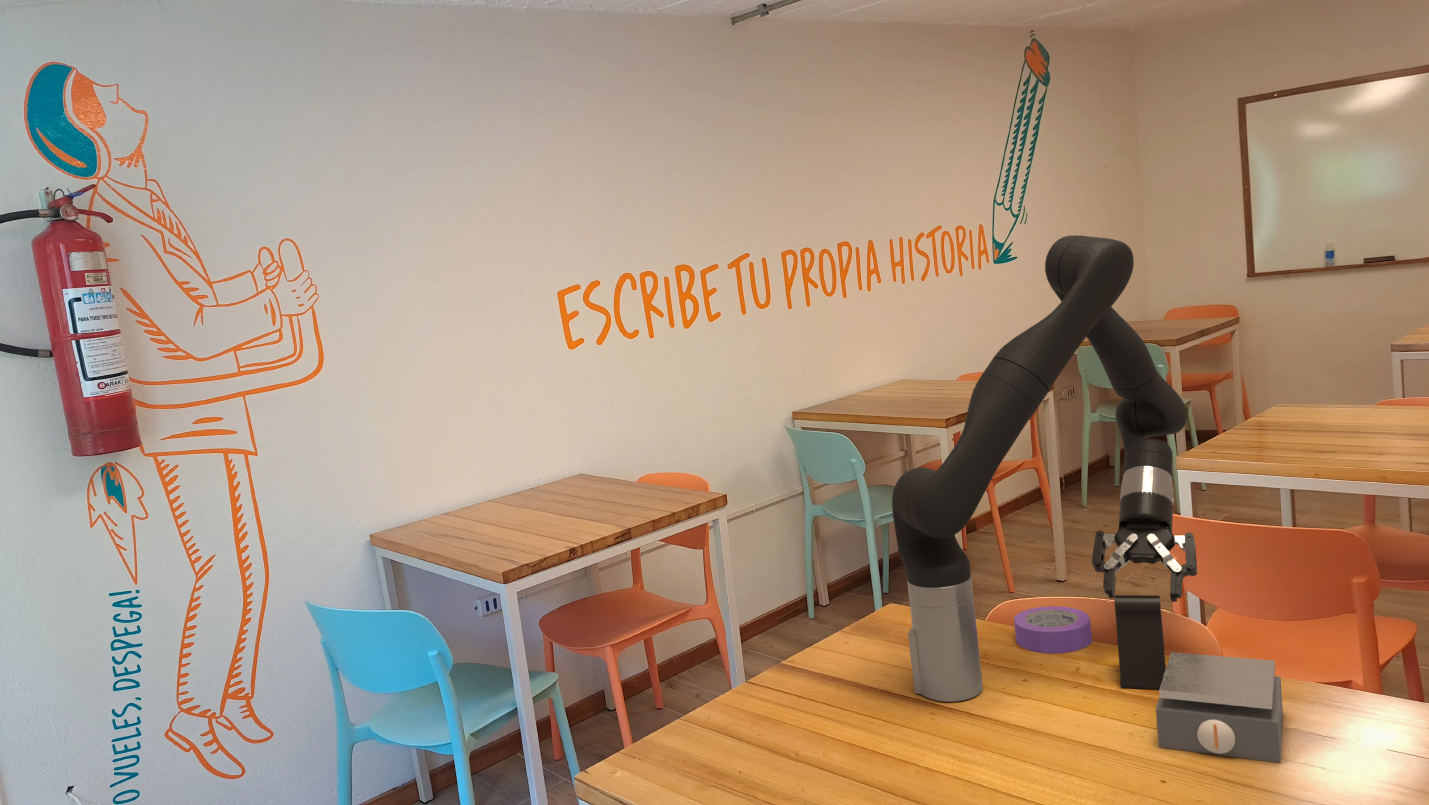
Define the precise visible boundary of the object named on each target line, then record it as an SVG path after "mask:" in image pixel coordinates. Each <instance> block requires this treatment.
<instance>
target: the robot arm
mask: <svg viewBox="0 0 1429 805" xmlns="http://www.w3.org/2000/svg"><path fill="white" fill-rule="evenodd" d="M1134 258H1135V257H1134V253H1133V251H1132V249H1131V247H1130V246H1129V245H1128V244H1127V243H1125V242H1123V241H1120V240H1118V239H1113V238H1107V237H1106V238H1105V237H1099V236H1098V237H1097V236H1087V235H1077V234H1075V235H1074V234H1073V235H1065V236H1063V237H1061V238H1059V239H1057V240H1056V241H1055V242H1054V243H1053V244H1052V245H1051V247H1050V249H1049V250H1048V252H1047V255H1046V257H1045V262H1044V272H1045V276H1046V280H1047V282H1048V283H1049V286H1050V287H1051V289H1052V290H1053V292H1054V294H1055V295H1056V296H1057V297H1058V299H1059V300H1060V301H1061V302H1060V303H1059V304H1058V305H1057V306H1056V308H1054V309H1053V310H1052V311H1051V312H1050V313H1049V314H1047V316H1045V317H1044V318H1043V319H1041V320H1040V321H1038V322H1036V323H1035V324H1033V325H1032V326H1031V327H1029V328H1027V329H1025V330H1024V331H1023V332H1021V333H1019V334H1018V335H1016V336H1015V337H1013V338H1012V339H1011V340H1009V341H1008V342H1006V344H1005V345H1003V346H1002V347H1001V348H1000V349H999V350H998V351H997V353H995V355H994V356H993V358H992V359H991V361H990V362H989V364H988V365H987V366H986V368H984V371H983V372H982V374H980V377H979V379H978V380H977V382H976V383H975V386H974V388H973V390H972V393H971V396H970V401H969V402H968V408H967V412H966V417H965V420H964V421H965V422H964V425H963V430H962V432H961V435H960V437H959V439H958V441H957V442H956V444H955V446H953V449H952V450H951V451H950V453H949V454H948V455H947V457H946V458H945V460H944V461H943V462H942V464H941V465H940V466H939V467H938V468H937V470H935V469H933V468H929V467H915V468H912V469H910V470H908V471H905V472H904V473H903V474H902V475H901V476H899V478H898V480H897V481H896V483H895V485H894V487H893V491H892V498H891V508H892V517H893V524H894V531H895V537H896V543H897V550H898V553H899V554H898V555H899V558H900V560H901V562H902V565H903V567H904V570H905V574H906V582H907V591H908V599H909V609H910V616H911V629H910V630H909V631H908V632H907V633H908V634H907V636H908V645H909V647H908V648H909V655H910V664H911V669H912V670H911V672H912V680H913V688H914V693H915V694H918V695H922V696H924V697H925V698H926V699H927V698H928V699H930V700H933V701H937V702H938V701H939V702H946V703H947V702H948V703H949V702H952V703H954V702H961V701H966V700H970V699H973V698H975V697H976V696H978V695H979V694H981V692H982V691H983V689H984V688H983V687H984V686H983V675H982V672H983V671H982V667H981V665H982V664H981V655H980V648H979V638H978V629H977V620H976V619H977V618H976V611H975V610H976V609H975V601H974V591H973V590H974V589H973V581H972V573H971V564H970V559H969V557H968V556H967V554H966V553H965V551H964V550H963V549H962V547H961V546H960V544H959V542H958V540H957V537H956V534H958V533H959V532H961V531H962V530H963V529H964V528H965V527H966V526H967V524H968V523H969V522H970V520H971V519H972V517H973V515H974V513H975V512H976V509H977V508H978V506H979V504H980V502H981V500H982V498H983V497H984V495H985V492H986V491H987V489H988V487H989V485H990V483H991V481H992V480H993V477H994V475H995V474H996V472H997V470H998V469H999V467H1000V464H1002V462H1003V460H1004V459H1005V457H1006V456H1007V454H1008V452H1009V451H1010V450H1011V448H1012V447H1013V445H1014V443H1015V442H1016V441H1017V439H1018V437H1019V436H1020V434H1021V432H1022V431H1023V430H1024V428H1025V426H1026V425H1027V424H1028V422H1029V421H1030V419H1031V418H1032V417H1033V415H1034V414H1035V413H1036V412H1037V410H1038V408H1039V407H1040V406H1041V404H1042V402H1043V401H1044V399H1045V398H1046V397H1047V395H1048V393H1049V392H1050V391H1051V389H1052V387H1053V385H1054V384H1055V382H1056V381H1057V379H1058V378H1059V376H1060V374H1061V373H1062V371H1063V370H1064V369H1065V367H1066V365H1067V364H1068V363H1069V362H1070V360H1071V359H1072V357H1073V356H1074V355H1075V353H1077V352H1076V351H1077V350H1078V349H1079V347H1080V346H1081V344H1082V343H1083V342H1084V341H1085V339H1086V338H1087V340H1088V342H1089V343H1090V344H1091V346H1092V348H1093V349H1094V351H1095V354H1096V355H1097V357H1098V359H1099V361H1100V363H1101V365H1102V367H1103V370H1104V372H1105V375H1107V378H1108V380H1109V382H1110V384H1111V387H1112V388H1113V391H1114V392H1115V393H1116V395H1117V396H1119V397H1120V398H1122V400H1120V401H1119V403H1118V404H1117V406H1116V408H1115V420H1116V423H1117V426H1118V430H1119V432H1120V436H1121V440H1122V446H1123V452H1124V461H1123V462H1124V465H1123V476H1122V482H1121V485H1120V486H1121V487H1120V498H1119V514H1118V515H1119V516H1118V527H1117V531H1116V533H1115V534H1113V533H1112V534H1110V533H1105V532H1104V531H1103V530H1097V531H1096V532H1095V536H1094V543H1093V551H1092V556H1091V564H1092V567H1093V568H1094V570H1095V572H1096V573H1103V580H1102V582H1103V583H1102V588H1103V590H1104V593H1105V594H1106V595H1107V596H1108V598H1109V599H1114V597H1115V595H1116V581H1117V577H1116V574H1117V573H1118V572H1120V570H1121V569H1122V568H1125V567H1126V566H1127V565H1128V564H1129V563H1130V562H1132V563H1133V564H1143V563H1147V564H1151V565H1153V564H1155V565H1156V564H1157V563H1159V562H1160V563H1162V565H1163V566H1164V567H1165V568H1166V569H1167V570H1168V571H1169V572H1170V576H1169V577H1170V580H1169V583H1170V584H1169V585H1170V587H1169V596H1170V600H1171V601H1170V602H1171V603H1172V602H1173V603H1175V602H1178V599H1181V598H1182V596H1183V588H1184V587H1183V585H1184V583H1183V582H1184V581H1183V580H1184V578H1185V577H1188V576H1191V577H1196V576H1197V574H1198V565H1197V561H1198V560H1197V548H1196V545H1197V544H1196V540H1195V536H1194V534H1193V533H1192V532H1190V531H1187V532H1185V533H1184V535H1174V533H1173V519H1174V518H1173V517H1174V516H1173V515H1174V504H1175V499H1174V486H1173V460H1174V459H1173V457H1174V456H1173V451H1172V447H1171V446H1170V445H1169V444H1168V443H1167V442H1165V441H1163V440H1161V439H1158V438H1157V439H1156V438H1152V437H1159V436H1168V435H1169V436H1170V435H1174V434H1177V433H1179V432H1181V431H1182V430H1184V427H1185V426H1186V424H1187V421H1188V410H1187V408H1186V405H1185V403H1184V401H1183V398H1182V397H1181V395H1180V394H1178V392H1177V391H1176V390H1175V389H1174V388H1173V387H1172V386H1171V385H1170V384H1169V383H1168V381H1167V380H1165V378H1164V377H1163V376H1162V375H1161V374H1160V372H1158V370H1157V368H1156V366H1155V363H1154V360H1153V358H1152V356H1151V352H1150V351H1149V349H1148V347H1147V345H1146V343H1145V341H1143V339H1142V338H1141V336H1140V335H1139V334H1138V333H1137V331H1135V329H1134V328H1133V327H1132V326H1131V325H1130V324H1129V323H1128V322H1127V321H1126V320H1125V319H1124V318H1123V317H1122V316H1121V315H1120V314H1119V313H1118V312H1117V311H1116V310H1115V309H1114V307H1113V305H1114V304H1115V303H1116V302H1117V300H1118V299H1119V298H1120V296H1121V295H1122V293H1123V292H1124V291H1125V289H1126V287H1127V285H1128V284H1129V282H1130V279H1131V278H1132V277H1131V276H1132V274H1133V270H1134V264H1135V261H1134V260H1135V259H1134ZM1113 544H1116V546H1117V549H1115V550H1114V551H1113V553H1112V555H1111V557H1110V558H1109V559H1107V561H1105V555H1106V550H1107V549H1109V548H1111V545H1113ZM1176 545H1177V546H1179V548H1180V549H1181V551H1184V552H1185V554H1184V555H1185V563H1183V564H1179V563H1178V561H1177V560H1176V559H1175V558H1174V557H1173V554H1171V552H1170V551H1172V549H1174V547H1175V546H1176Z"/></svg>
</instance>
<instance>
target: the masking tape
mask: <svg viewBox="0 0 1429 805" xmlns="http://www.w3.org/2000/svg"><path fill="white" fill-rule="evenodd" d="M1013 624H1014V632H1015V633H1014V634H1015V641H1016V643H1017V645H1018V646H1019V647H1021V648H1023V649H1025V650H1028V651H1030V652H1035V653H1040V654H1055V655H1056V654H1069V653H1072V652H1073V653H1074V652H1078V651H1080V650H1083V649H1086V648H1087V647H1089V646H1090V645H1091V644H1092V641H1093V635H1092V624H1091V617H1090V616H1089V614H1088V613H1087V612H1085V611H1083V610H1080V609H1077V608H1072V607H1069V606H1056V605H1055V606H1053V605H1052V606H1039V607H1034V608H1030V609H1026V610H1023V611H1020V612H1018V613H1017V614H1016V615H1015V616H1014V618H1013Z"/></svg>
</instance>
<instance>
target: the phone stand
mask: <svg viewBox="0 0 1429 805" xmlns="http://www.w3.org/2000/svg"><path fill="white" fill-rule="evenodd" d="M1113 599H1114V600H1113V601H1114V613H1115V623H1116V625H1115V626H1116V636H1117V638H1116V639H1117V653H1118V664H1119V679H1120V688H1121V689H1138V690H1139V689H1141V690H1142V689H1143V690H1159V689H1160V686H1161V683H1162V680H1163V676H1164V673H1165V670H1166V667H1167V665H1166V656H1165V654H1166V653H1165V645H1164V644H1165V641H1164V632H1163V631H1164V630H1163V620H1162V606H1161V597H1160V595H1140V594H1139V595H1136V594H1135V595H1133V594H1131V595H1128V594H1126V595H1120V594H1119V595H1118V594H1117V595H1116V594H1115V597H1114V598H1113Z"/></svg>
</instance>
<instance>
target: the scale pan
mask: <svg viewBox="0 0 1429 805" xmlns="http://www.w3.org/2000/svg"><path fill="white" fill-rule="evenodd" d="M1275 676H1276V660H1270V659H1259V658H1248V657H1237V656H1236V657H1235V656H1222V655H1209V654H1198V653H1186V652H1185V653H1184V652H1174V651H1173V652H1170V654H1169V658H1168V661H1167V665H1166V670H1165V673H1164V676H1163V680H1162V683H1161V686H1160V689H1158V691H1159V693H1158V694H1159V697H1160V698H1168V699H1177V700H1187V701H1197V702H1206V703H1216V704H1225V705H1235V706H1245V707H1254V708H1264V709H1272V705H1273V692H1274V678H1275Z"/></svg>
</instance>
